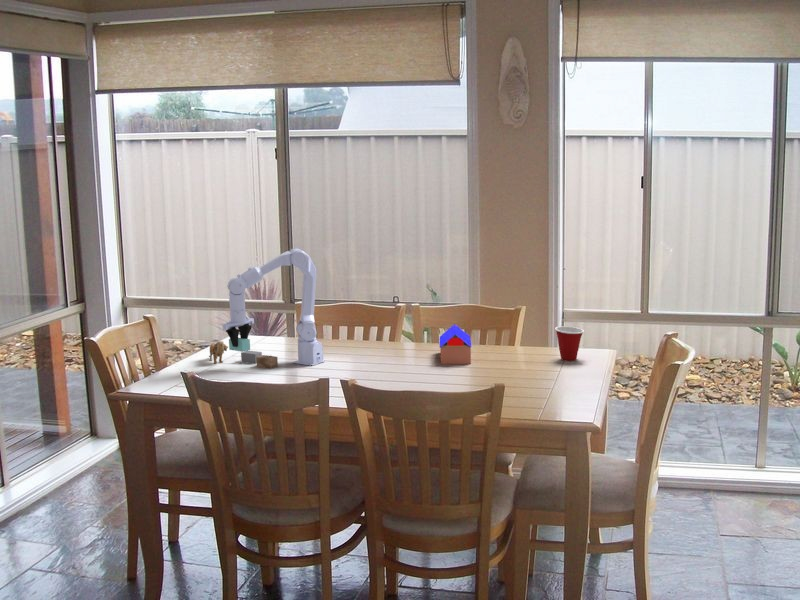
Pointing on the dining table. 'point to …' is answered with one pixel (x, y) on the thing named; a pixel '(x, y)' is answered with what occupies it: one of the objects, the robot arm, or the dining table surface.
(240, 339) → the teal brick
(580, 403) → the dining table surface
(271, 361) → the walnut brick
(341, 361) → the dining table surface
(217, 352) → the lion figurine
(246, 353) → the gray brick
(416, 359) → the dining table surface
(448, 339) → the house
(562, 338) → the plastic cup
